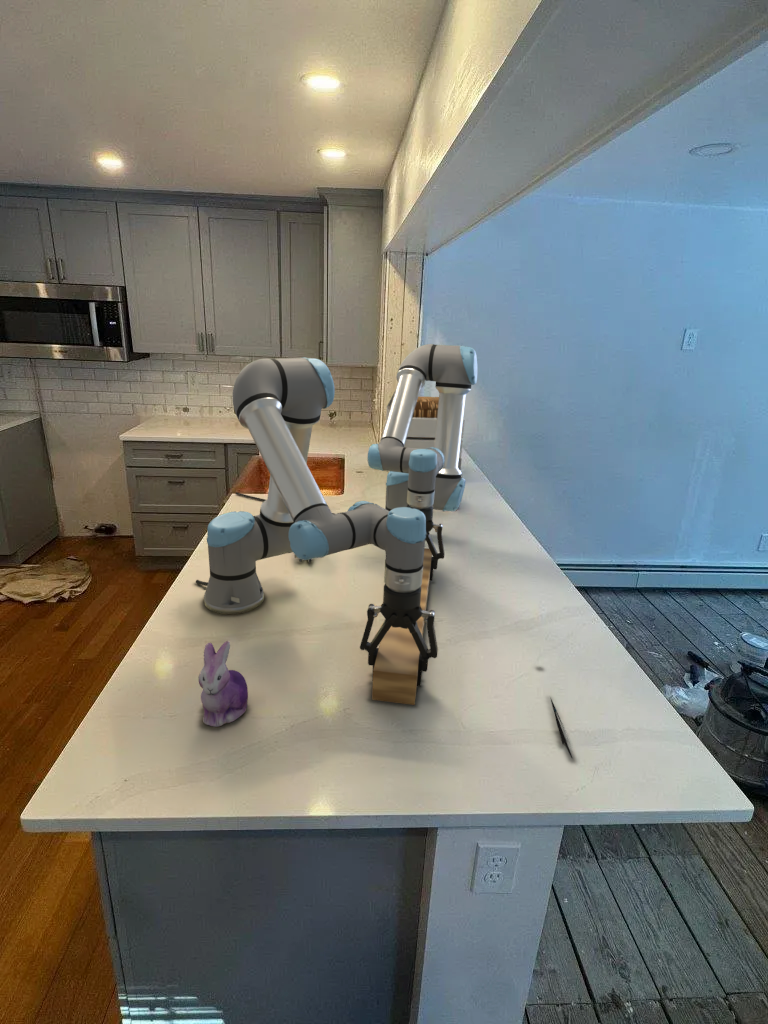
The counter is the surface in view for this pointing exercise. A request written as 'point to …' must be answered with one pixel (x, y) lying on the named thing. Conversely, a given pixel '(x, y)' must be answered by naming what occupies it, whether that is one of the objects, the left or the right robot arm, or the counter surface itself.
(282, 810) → the counter surface
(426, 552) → the wide beam
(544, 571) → the counter surface
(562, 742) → the feather
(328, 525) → the left robot arm
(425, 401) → the white slatted crate
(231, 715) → the figurine
